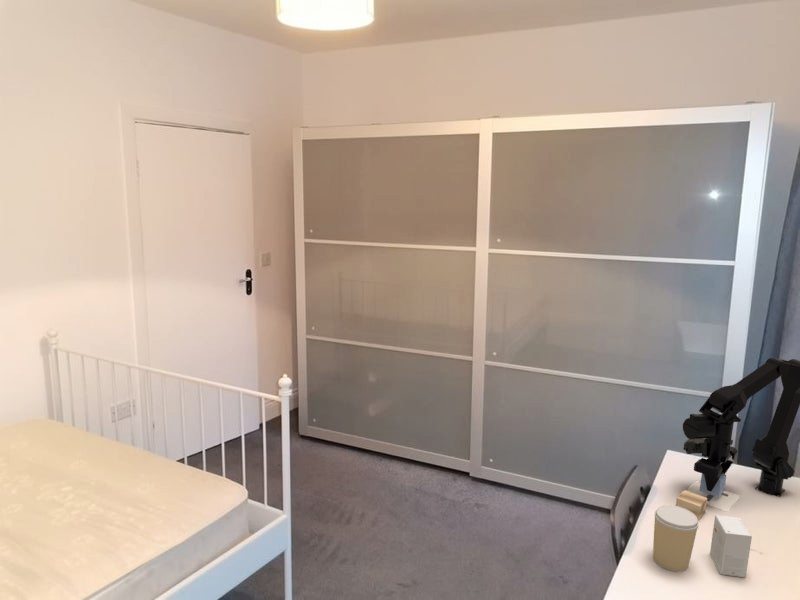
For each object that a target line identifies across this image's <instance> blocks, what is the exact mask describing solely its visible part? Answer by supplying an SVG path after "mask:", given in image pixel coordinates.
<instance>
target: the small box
mask: <svg viewBox="0 0 800 600" xmlns="http://www.w3.org/2000/svg"><path fill="white" fill-rule="evenodd" d="M752 537H753V536H752V535H751V532H750V530H748V529H747V527H746V525H745V524H744V522H743V520H742V519H741V518H740V517H733V516H726V515H718V514H716V515H714V523H713V529H712V536H711V544H710V551H709V556H710V557H711V559H712V561H713V563H714V564H715V567H716V569H717V571H718V573H719V574H720V575H724V576H731V577H739V578H746V577H747V571H748V566H749V565H748V564H749V557H750V553H751V552H750V551H751V544H752Z"/></svg>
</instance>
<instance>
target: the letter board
mask: <svg viewBox="0 0 800 600" xmlns="http://www.w3.org/2000/svg"><path fill="white" fill-rule="evenodd" d="M700 484H701V481H697V480H695V481H694V482H693V483H692V484H691V485H690V486H689V487H688V488H687V489H686V490H685V491H688V492H691V493H694V494H697V495H700V496H703V497H706V498H707V505H706V506H711V507H713V508H716V509H718V510H720V511H721V510H722V511H724V512H726V513H727V512H729V510H730V509H732V507H733V506H734V505H735V503H736V502H737V501H738V500H739V498H740V497H741V495H738V494H735V493H733V492H730V491H727V490H724V492H723V493H722V494H721V495H720V496H719V497H716V496H713V495H710V494H708V493H705V492H702V491H700Z"/></svg>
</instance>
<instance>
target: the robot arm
mask: <svg viewBox="0 0 800 600" xmlns="http://www.w3.org/2000/svg"><path fill="white" fill-rule="evenodd" d="M778 378H780V380H781V384H782V392H781V395H780V397H779V401H778V402H777V406H776V408H775V412H774V415H773V417H772V420H771V423H770V425H769V428H768V431H767V433H766V435H765V436H764V437H762V438H761V439H760V438H756V440H755V442H754V445H753V448H752V450H751V452H752V458H753V459H754V460H753V461H754V465H755V466H756V467H758V468H760V469H761V472H760V478H759V482H758V484H757V485H756V487H754V489H755V490H757V491H759V492H762V493H765V494H768V495H771V496H775V497H777V498H781V497H782V495H783V494H784V492H785V491H786V489H785V488H783V484H784V480H789V479H791V478H793V475H794V473H795V470H794V469H793V468H792V466H791V465H790V463H789V457H790V452H789V447H788V439H789V437H790V434H791V430H792V428H793V425H794V423H795V420H796V416H797V414H798V411H799V408H800V360H798V359H795V358H791V359H789V360H786V359H781V358H775V357H769V358H767V359H766V361H765V363H763V364H762V365H760V366H759V367H758V368H756V369H754V370H753V371H752V372H750V373H749V374H748V375H746V376H745V377H743V378H741V379H740V380H739V381H737V382H736V383H734V384H731V385H726V386H722V387H720V388H717V389H716V390H713V392H712V393H710V394H709V397H708V398H707V399H706V400H705V402H704V403H703V405H702V406H701V407H700V409H699V410H698V412H699V413H690V414H689V417H688V418H686V419H685V420H684V421H683V422H682V431H683V434H684V436H685V437H686V438H687V440H685V441H684V443H683V448H682V449H683V450H684V451H685V452H686V454H687V455H692V454H701V457H702V458H699V459H698V460H697V461H696V462H694V465H693V471H694V472H697V473H700V474H701V475H702V474H704V477H705V481H706V487H707V490H708V491H712V490H713V488H714V487H715V485H716V484H717V482H718V481H719V479H720V478H721V476H722V474H725V475H726V473H727V472H728V470H729V469H730V467H732V465H733V464H734V461H735V460H736V459H737V458H738V455H739V454H738V453H739V451H738V450H737V448H736V447H734V446H731V445H733V444H734V443H733V442H734V439H732V438H733V430H734V423H740V422H741V421H742V420H741V418H740V417H739V416H738V414H739V413H740V412H742V411H743V409H745V407H746V406H747V402H748V400H749V399H750V398H751V397H753V396H754V395H756V394H757V393H759V392H760V391H762V390H763V389H764V388H766V387H767V386H768V385H770V384H771V383H773V382H774V381H776V380H777V379H778ZM703 457H704V458H703ZM730 458H731V460H729V459H730Z"/></svg>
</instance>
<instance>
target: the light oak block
mask: <svg viewBox="0 0 800 600" xmlns="http://www.w3.org/2000/svg"><path fill="white" fill-rule="evenodd" d="M675 499H676V500H675V506H678V507H681V508H684V509H687V510H689V511H690V512H692V513H693V514H694V515H695V516H696V517H697V519H698V522H700V521H701V519H702V518H703V516H705V514H706V510H707V506H708V505H707V498H706V497H703V496H700V495H697V494H694V493H691V492H688V491H686V490H685V489H684V490H682V492H681V493H680V494H679V495H677V497H676V498H675Z"/></svg>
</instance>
